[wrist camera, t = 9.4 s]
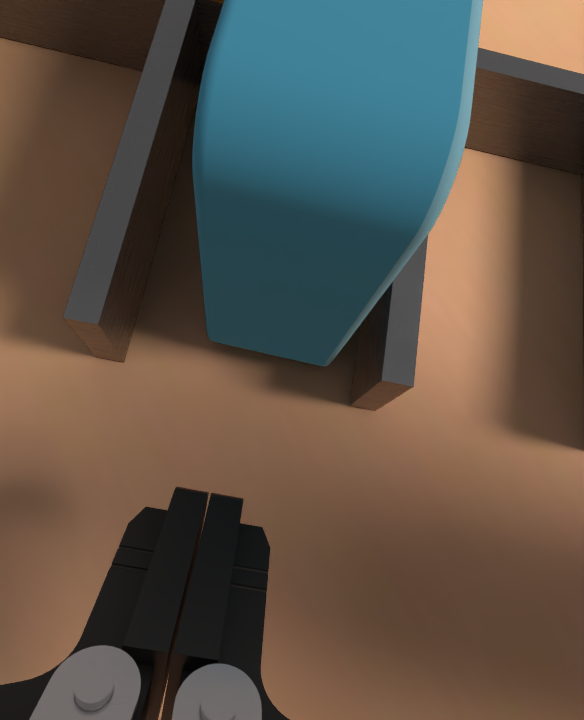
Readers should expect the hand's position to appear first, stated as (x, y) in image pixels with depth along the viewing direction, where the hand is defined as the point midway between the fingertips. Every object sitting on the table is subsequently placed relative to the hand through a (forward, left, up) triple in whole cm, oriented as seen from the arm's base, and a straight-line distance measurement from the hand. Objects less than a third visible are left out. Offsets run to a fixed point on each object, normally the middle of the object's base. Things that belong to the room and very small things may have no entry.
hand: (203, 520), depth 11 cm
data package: (-1, -12, -7) cm, 13 cm away
